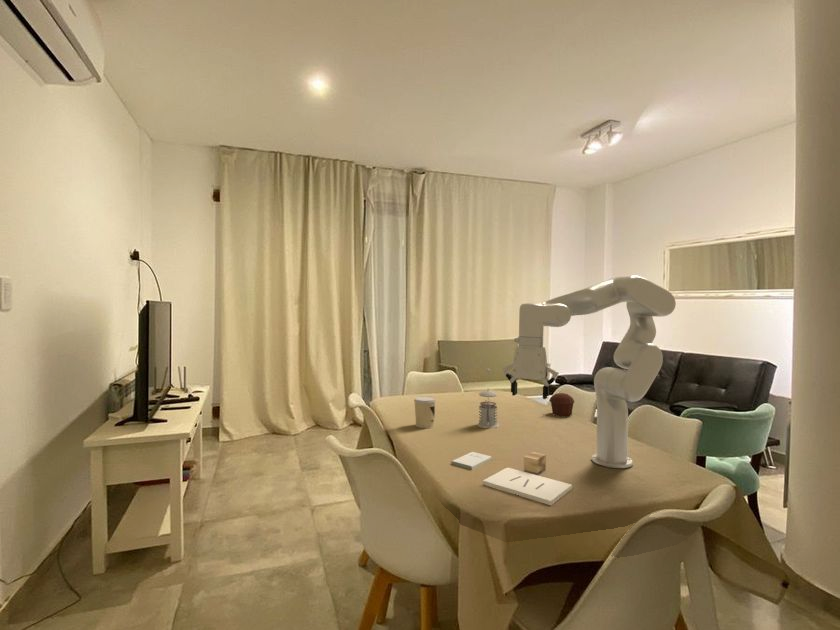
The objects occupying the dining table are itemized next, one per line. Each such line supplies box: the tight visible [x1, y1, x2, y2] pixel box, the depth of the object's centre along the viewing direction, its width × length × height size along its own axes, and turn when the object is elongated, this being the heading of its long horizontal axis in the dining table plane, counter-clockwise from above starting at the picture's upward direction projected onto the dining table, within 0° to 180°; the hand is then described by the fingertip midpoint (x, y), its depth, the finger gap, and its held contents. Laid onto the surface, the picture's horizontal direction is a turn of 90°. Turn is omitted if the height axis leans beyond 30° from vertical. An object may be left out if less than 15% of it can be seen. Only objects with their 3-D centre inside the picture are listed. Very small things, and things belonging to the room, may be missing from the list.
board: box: [482, 467, 573, 506], centre depth 128 cm, size 14×21×1 cm, turn 49°
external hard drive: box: [450, 451, 493, 471], centre depth 149 cm, size 2×8×12 cm
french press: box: [476, 368, 500, 429], centre depth 193 cm, size 10×12×25 cm
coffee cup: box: [413, 396, 437, 429], centre depth 194 cm, size 9×9×12 cm
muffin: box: [549, 392, 576, 417], centre depth 214 cm, size 12×11×10 cm
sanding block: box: [523, 451, 547, 476], centre depth 140 cm, size 6×4×5 cm
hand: (529, 396), depth 139 cm, fingers open, 9 cm apart
